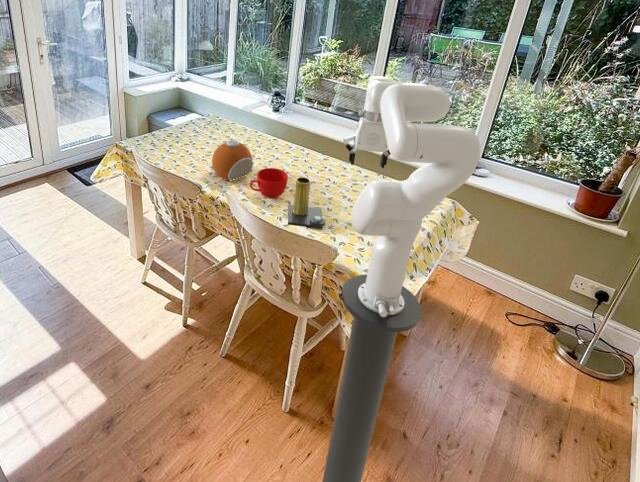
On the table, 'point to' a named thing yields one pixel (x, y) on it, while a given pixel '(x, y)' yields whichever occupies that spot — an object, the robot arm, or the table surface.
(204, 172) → the table surface
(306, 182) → the vase
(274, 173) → the ceramic cup
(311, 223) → the scale
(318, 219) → the button
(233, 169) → the alarm clock
